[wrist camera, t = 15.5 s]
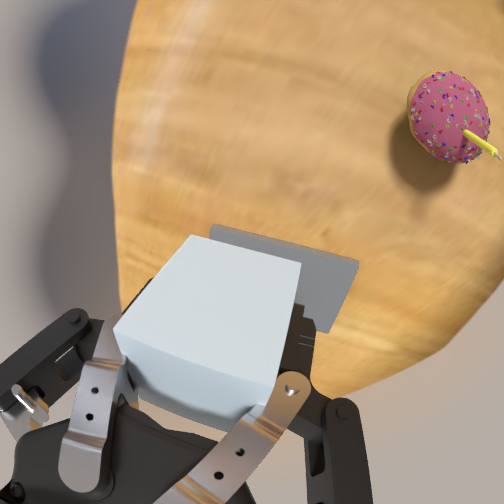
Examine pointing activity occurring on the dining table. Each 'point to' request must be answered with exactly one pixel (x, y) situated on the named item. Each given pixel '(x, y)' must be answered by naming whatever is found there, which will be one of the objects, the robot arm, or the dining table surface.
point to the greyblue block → (210, 331)
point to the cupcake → (449, 117)
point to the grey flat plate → (303, 272)
